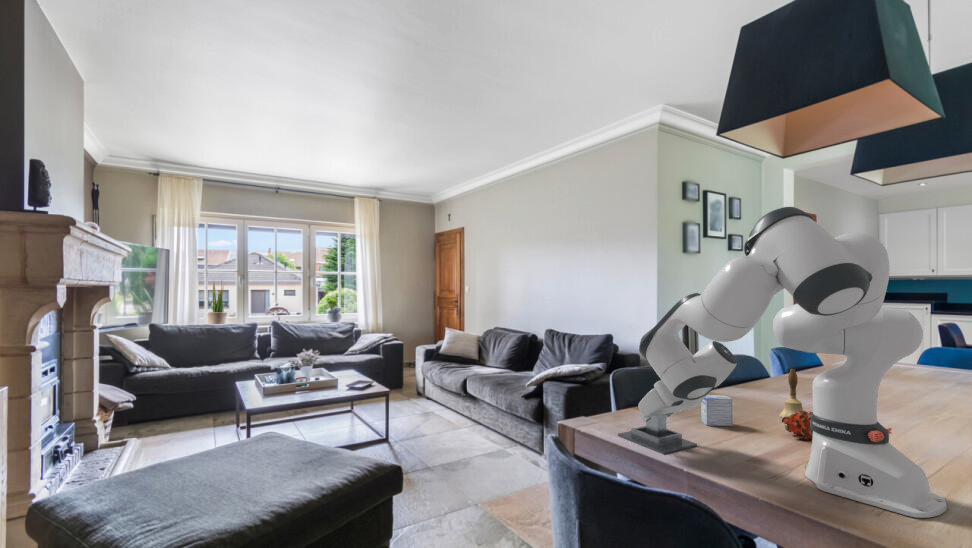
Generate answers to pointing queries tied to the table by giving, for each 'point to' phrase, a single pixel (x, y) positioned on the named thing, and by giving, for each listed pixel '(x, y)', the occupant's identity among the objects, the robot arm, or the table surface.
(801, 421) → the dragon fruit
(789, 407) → the hand bell
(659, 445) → the rectangular socket base
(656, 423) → the nut block
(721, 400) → the medicine box
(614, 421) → the table surface
